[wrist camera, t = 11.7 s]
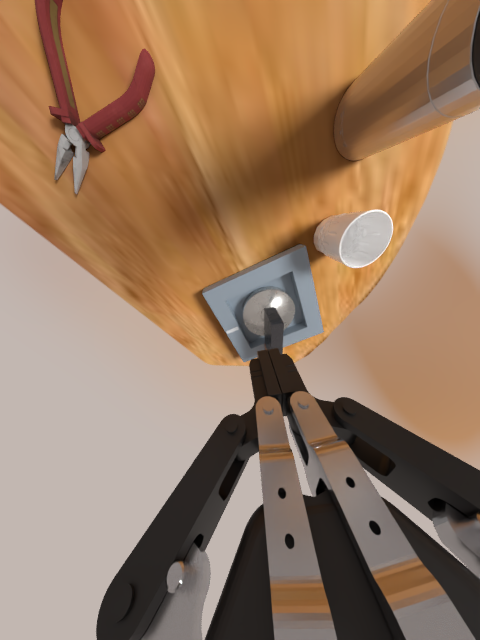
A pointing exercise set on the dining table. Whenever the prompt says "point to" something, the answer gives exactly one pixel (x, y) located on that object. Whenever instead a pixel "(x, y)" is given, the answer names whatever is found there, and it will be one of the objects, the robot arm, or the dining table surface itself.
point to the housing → (276, 271)
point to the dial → (269, 314)
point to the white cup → (354, 237)
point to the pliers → (76, 131)
